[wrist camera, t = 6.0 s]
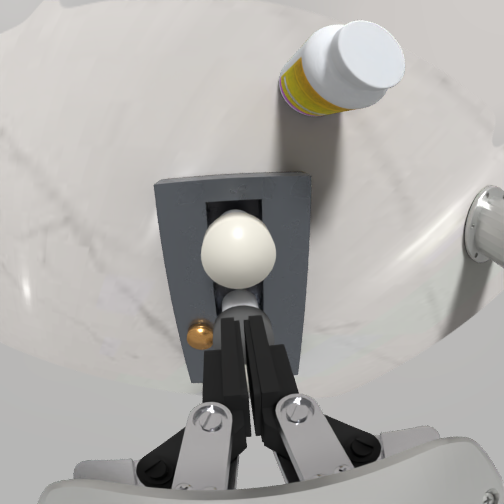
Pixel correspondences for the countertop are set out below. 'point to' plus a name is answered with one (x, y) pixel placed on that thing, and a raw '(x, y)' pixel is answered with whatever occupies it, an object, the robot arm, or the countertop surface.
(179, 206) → the panel
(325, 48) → the supplement bottle
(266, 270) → the knob
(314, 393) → the countertop surface
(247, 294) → the knob middle
